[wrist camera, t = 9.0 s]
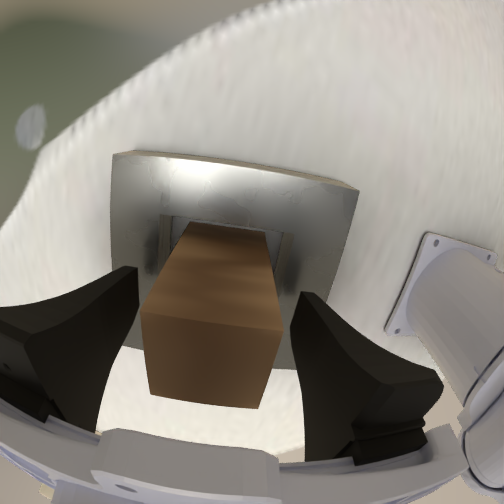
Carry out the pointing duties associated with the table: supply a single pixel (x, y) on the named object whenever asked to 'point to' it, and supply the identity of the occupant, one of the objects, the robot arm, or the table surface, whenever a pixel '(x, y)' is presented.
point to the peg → (213, 319)
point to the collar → (229, 221)
